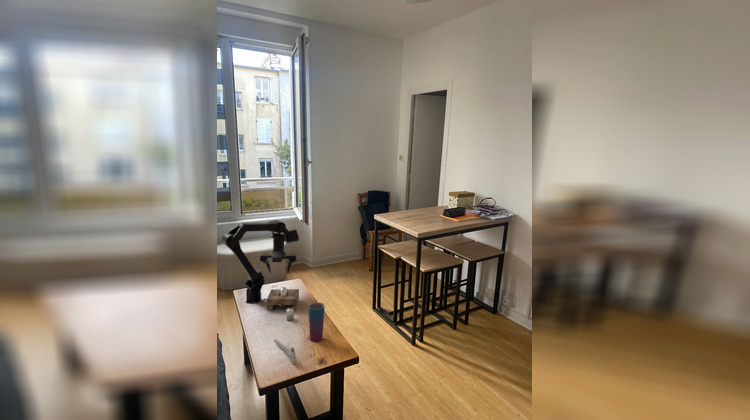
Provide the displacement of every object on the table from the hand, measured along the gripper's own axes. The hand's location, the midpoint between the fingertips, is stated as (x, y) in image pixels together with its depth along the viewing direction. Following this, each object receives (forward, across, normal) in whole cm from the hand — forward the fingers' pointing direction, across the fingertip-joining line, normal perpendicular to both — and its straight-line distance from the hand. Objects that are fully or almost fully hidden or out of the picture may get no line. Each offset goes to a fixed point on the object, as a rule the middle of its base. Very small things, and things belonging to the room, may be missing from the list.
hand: (279, 272), depth 197 cm
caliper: (+12, +10, -56) cm, 58 cm away
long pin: (+12, +4, -14) cm, 19 cm away
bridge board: (+12, +4, -14) cm, 19 cm away
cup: (+12, +22, -47) cm, 53 cm away
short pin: (+12, +9, -29) cm, 33 cm away
